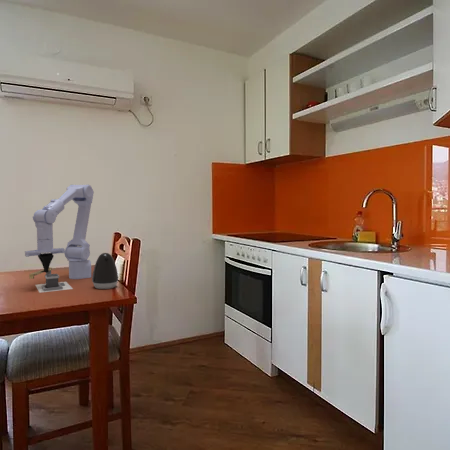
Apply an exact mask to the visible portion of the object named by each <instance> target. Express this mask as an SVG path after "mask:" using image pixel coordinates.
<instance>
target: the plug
mask: <svg viewBox="0 0 450 450" xmlns="http://www.w3.org/2000/svg"><path fill="white" fill-rule="evenodd" d="M44 278H45V284H46V288H52V287H58V282H59V278H60V275H59V274H58V273H51V274H47V275H46V274H45V275H44Z"/></svg>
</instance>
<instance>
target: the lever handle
mask: <svg viewBox="0 0 450 450" xmlns="http://www.w3.org/2000/svg"><path fill="white" fill-rule="evenodd" d="M49 270H51V271H52V270H53V267H49V269H48V271H49ZM43 273H45V272H44V268H42V269H40V270H37V271H34V272H31V273H29V274H28V277H29V278H28V279H31V280H34V279H35V276H37V275H41V274H43Z"/></svg>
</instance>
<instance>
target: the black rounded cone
mask: <svg viewBox="0 0 450 450" xmlns="http://www.w3.org/2000/svg"><path fill="white" fill-rule="evenodd" d="M115 262H116V261H115V259H114V258H113V256H112V254H110V253H108V252H103V253H101V254H99V255H98V257H97V259H96V261H95V264H94V268H93V271H92V276H91V278H92V279H91V282H92V284H93V286H94V288H95V289H98V290H111V289H114V288H116V286H117V284H118V281H119V274H118V268H117V264H116V263H115Z"/></svg>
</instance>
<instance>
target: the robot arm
mask: <svg viewBox="0 0 450 450" xmlns="http://www.w3.org/2000/svg"><path fill="white" fill-rule="evenodd" d="M94 193H95V192H94V189H93V188H92V185H90V184H70V185H69V186H67V187H66V191H65V192H64V193H62V194H61V196H60V197H58V198H57V199H56V198H54V199H53V198H52V199H50V202H49V203H48V204H46V205H44V206H43V207H42V209H37V210H36V211H35V212H34V213H33V216H32V220H33V222H34V224H35V228H36V247H37V248H36V249H34V250H27V251H24V256H25V257H34V256H37V257H38V259H39V260H40V263H41V265H42V269H44V272H43V273H45V274H46V273H48V269H49V268H50V265H51V263H52V260H53V259H54V255H55V254H56V255H57V254H64V257H65V258H66V260H67V261H68V278H69V279H70V280H81V279H89V278H92V261H91V260H90V259H89V258H90V255H91V251H90V243H89V242H88V241H86V237H87V231H88V224H89V219H90V213H91V207H92V203H93V199H94ZM71 201H73V203H74V204H76V205H77V207H78V208H77V213H76V214H77V215H76V220H75V225H74V230H73V231H74V232H73V238H72V239H71V240H69V241H68V242H67V244H66V247H65V248H64V247H61V248H60V247H58V248H54V236H53V235H54V230H53V223H56V221H57V217H58V215H59V214H61V213H62V212H63V211H64V210H65V205H67V204H68V203H70V202H71Z"/></svg>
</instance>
